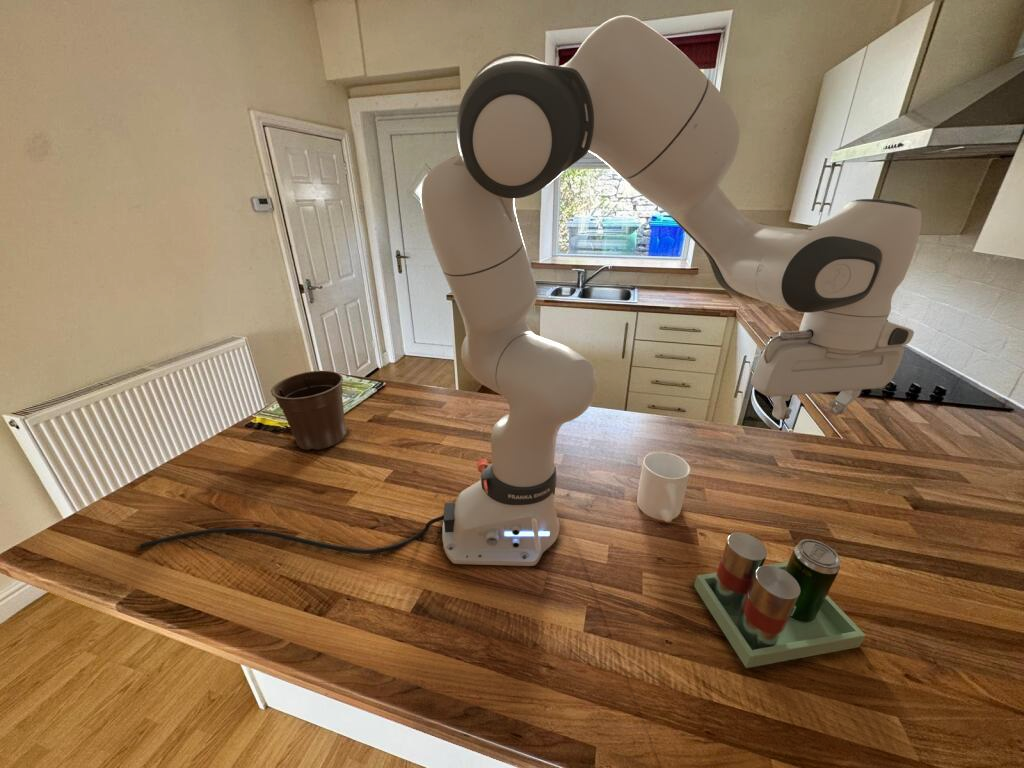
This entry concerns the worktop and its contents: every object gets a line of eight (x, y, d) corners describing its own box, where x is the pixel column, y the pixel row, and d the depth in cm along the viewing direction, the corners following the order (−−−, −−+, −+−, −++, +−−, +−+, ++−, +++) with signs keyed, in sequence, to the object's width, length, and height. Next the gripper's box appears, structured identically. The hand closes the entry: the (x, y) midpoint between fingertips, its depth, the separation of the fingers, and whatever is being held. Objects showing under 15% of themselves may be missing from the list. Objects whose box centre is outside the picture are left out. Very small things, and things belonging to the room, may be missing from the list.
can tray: (745, 670, 54) (750, 656, 53) (693, 587, 65) (696, 575, 64) (858, 648, 57) (866, 635, 55) (789, 573, 68) (794, 560, 66)
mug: (644, 534, 76) (652, 489, 71) (632, 491, 86) (639, 450, 82) (691, 537, 75) (702, 492, 70) (673, 493, 86) (683, 452, 81)
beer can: (804, 632, 58) (832, 575, 53) (766, 604, 62) (789, 548, 57) (820, 612, 61) (849, 556, 56) (783, 586, 65) (806, 532, 60)
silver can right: (750, 659, 55) (774, 602, 50) (726, 624, 59) (746, 567, 54) (783, 653, 56) (811, 595, 50) (757, 618, 60) (780, 562, 55)
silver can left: (723, 618, 60) (742, 562, 55) (703, 588, 65) (720, 534, 59) (754, 613, 61) (776, 557, 56) (732, 584, 65) (751, 530, 60)
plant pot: (275, 442, 104) (257, 386, 97) (331, 416, 116) (319, 365, 109) (310, 464, 96) (293, 405, 89) (366, 433, 108) (356, 379, 101)
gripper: (788, 340, 51) (760, 431, 57) (925, 331, 54) (884, 420, 60) (754, 325, 57) (732, 410, 63) (880, 318, 59) (847, 400, 65)
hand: (807, 415), depth 61 cm, fingers open, 8 cm apart
